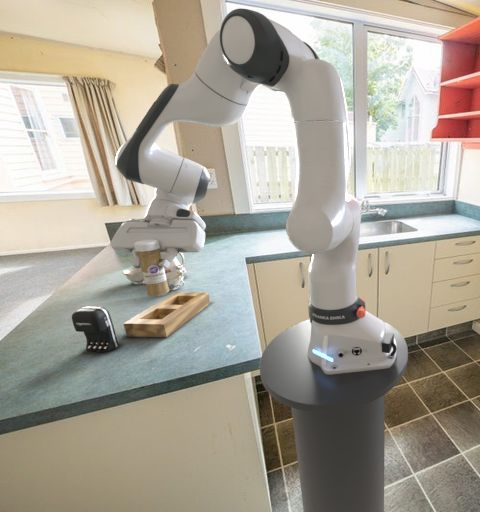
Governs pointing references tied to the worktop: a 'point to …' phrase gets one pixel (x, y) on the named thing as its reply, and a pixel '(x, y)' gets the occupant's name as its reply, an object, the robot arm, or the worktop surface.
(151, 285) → the sprinkles bottle
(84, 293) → the worktop surface
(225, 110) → the robot arm
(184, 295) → the socket block
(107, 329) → the battery charger
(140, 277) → the chinaware
